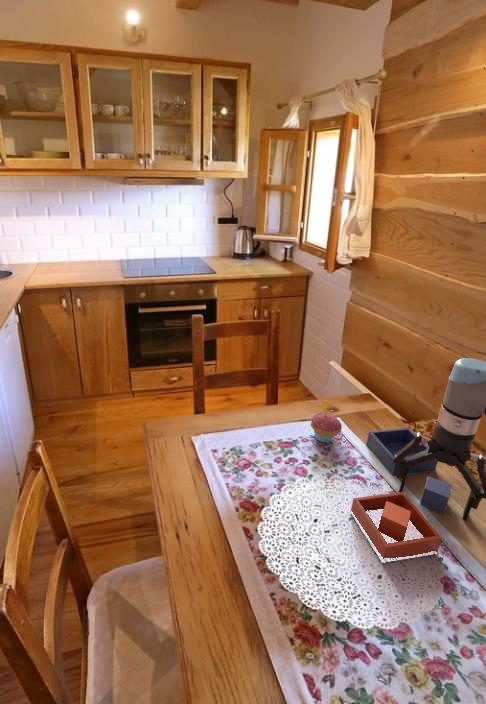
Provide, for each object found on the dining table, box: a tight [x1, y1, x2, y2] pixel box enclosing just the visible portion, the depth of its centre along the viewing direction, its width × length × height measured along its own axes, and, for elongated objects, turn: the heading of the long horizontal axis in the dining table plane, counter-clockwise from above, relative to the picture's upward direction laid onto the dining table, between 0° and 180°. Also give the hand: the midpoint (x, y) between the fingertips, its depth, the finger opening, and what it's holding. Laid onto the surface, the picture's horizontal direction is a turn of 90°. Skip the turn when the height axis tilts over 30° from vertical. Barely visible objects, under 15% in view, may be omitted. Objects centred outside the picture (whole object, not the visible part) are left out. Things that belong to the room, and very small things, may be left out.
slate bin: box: [365, 427, 439, 477], centre depth 110 cm, size 13×13×4 cm
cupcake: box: [310, 399, 343, 443], centre depth 115 cm, size 9×8×12 cm
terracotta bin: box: [350, 491, 443, 559], centre depth 86 cm, size 13×13×4 cm
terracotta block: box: [378, 501, 411, 542], centre depth 86 cm, size 5×5×5 cm
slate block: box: [419, 475, 452, 516], centre depth 95 cm, size 5×5×5 cm
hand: (431, 502), depth 96 cm, fingers open, 13 cm apart
